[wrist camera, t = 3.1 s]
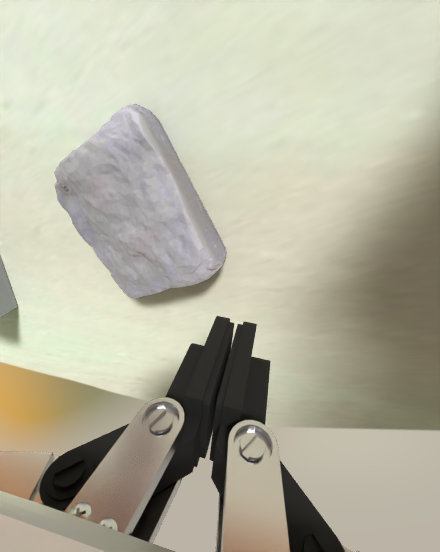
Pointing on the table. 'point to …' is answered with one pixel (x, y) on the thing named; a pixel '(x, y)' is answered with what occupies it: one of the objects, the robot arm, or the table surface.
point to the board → (6, 293)
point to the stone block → (139, 206)
